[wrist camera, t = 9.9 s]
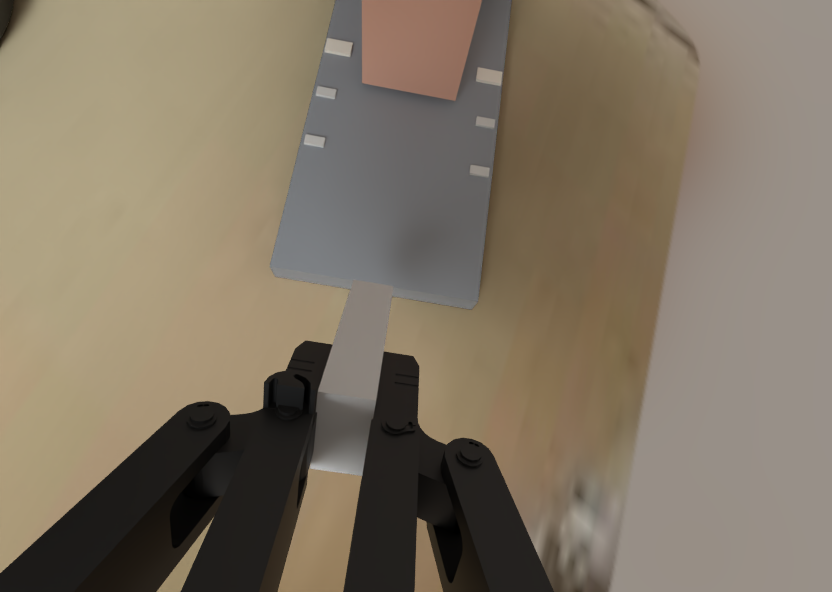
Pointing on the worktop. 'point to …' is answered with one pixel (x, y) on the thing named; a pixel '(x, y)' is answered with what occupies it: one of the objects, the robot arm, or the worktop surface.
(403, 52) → the terracotta plug block
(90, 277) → the worktop surface
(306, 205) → the slate track
